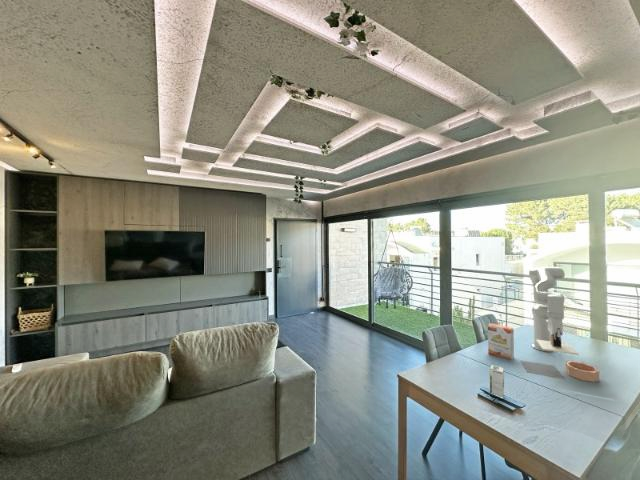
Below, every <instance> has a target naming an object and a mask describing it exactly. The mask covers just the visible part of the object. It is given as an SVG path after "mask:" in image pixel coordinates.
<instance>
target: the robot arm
mask: <svg viewBox="0 0 640 480" xmlns="http://www.w3.org/2000/svg"><path fill="white" fill-rule="evenodd" d="M528 276H529V279H530V280H531V282H532V287H533V299H534V302H535V304H539V305H535V306H533V307H532V308H531V312H532V316H533V317H532V318H533V340H534V341H533V343H532V344H531V347H532V348H533V349H534V350H538V351H542V352H553V351H547V350H543V349H542V348H541V347H540V345H539V344H538V343H537V341H536V339H537V340H544V341H551V335H554V346H558V347H561V343H562V336H563V334H564V331H563V330H564V327H563V325H564V324H563V320H564V319H565V307H564V306H565V305H564V304H565V296H564V295H563V294H562V293H560V292H557V291H556V292H553V291H549V290H551V289H553V288H554V287H556V286H557V282H556V281H561V280H564V279H565V270H564V269H563V268H562V267H560V266H559V267H557V266H542V267H533V268H530V270H529V271H528Z"/></svg>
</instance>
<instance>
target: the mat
mask: <svg viewBox="0 0 640 480" xmlns="http://www.w3.org/2000/svg"><path fill="white" fill-rule="evenodd" d="M519 362H520V363H521V366H522V367H523V368H524V370H525V372H526V373H527V374H531V375H532V374H534V375H540V376H544V377H550V378H556V379H561V380H566V378H565V377H564V375H563V374H562V373H561V372H560V371H559V369H558V368H557V367H556V366H555V365H551V364H546V363H539V362H535V361H534V362H532V361H527V360H521V359H520V360H519Z"/></svg>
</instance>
